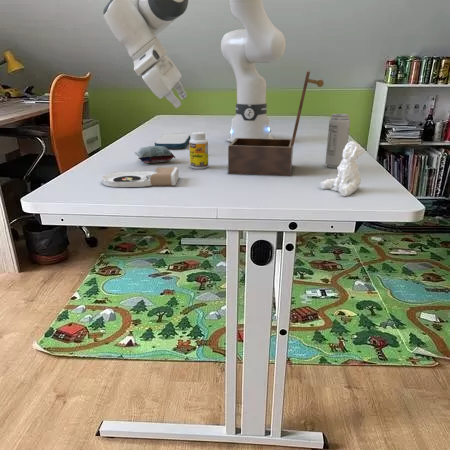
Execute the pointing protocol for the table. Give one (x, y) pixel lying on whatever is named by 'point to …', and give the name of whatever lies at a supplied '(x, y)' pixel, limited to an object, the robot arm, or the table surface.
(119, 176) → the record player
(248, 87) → the robot arm
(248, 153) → the chest
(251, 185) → the table surface
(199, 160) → the supplement bottle
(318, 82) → the chest lid
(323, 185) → the white creature statuette
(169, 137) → the external hard drive
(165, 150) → the packaged food
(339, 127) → the energy drink can
